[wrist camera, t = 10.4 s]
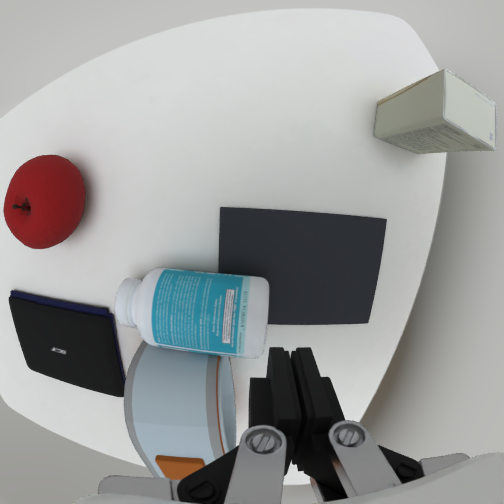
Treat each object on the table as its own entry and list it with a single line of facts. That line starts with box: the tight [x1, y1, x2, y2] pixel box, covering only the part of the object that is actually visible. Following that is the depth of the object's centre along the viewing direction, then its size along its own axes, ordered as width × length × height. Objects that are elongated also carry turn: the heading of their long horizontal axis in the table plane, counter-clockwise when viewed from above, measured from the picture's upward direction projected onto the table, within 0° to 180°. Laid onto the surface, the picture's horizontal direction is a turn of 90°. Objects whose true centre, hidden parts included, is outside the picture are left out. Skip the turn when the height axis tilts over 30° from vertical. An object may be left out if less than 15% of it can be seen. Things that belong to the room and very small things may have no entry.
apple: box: [4, 155, 86, 249], centre depth 21 cm, size 9×9×10 cm
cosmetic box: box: [374, 69, 497, 154], centre depth 19 cm, size 6×4×12 cm
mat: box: [219, 207, 387, 325], centre depth 28 cm, size 17×12×1 cm
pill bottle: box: [115, 268, 269, 359], centre depth 25 cm, size 8×7×14 cm
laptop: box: [9, 290, 126, 397], centre depth 29 cm, size 16×20×2 cm
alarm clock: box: [124, 340, 236, 480], centre depth 25 cm, size 15×8×14 cm, turn 4°
